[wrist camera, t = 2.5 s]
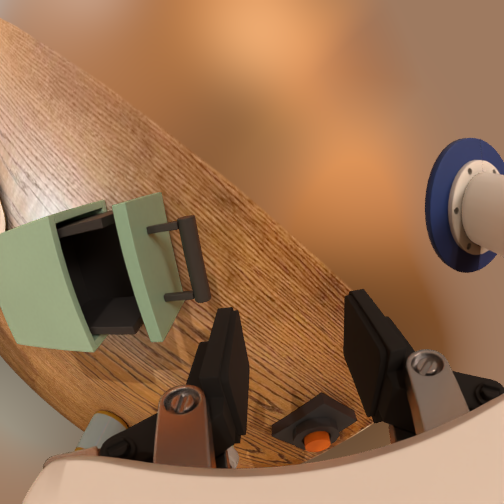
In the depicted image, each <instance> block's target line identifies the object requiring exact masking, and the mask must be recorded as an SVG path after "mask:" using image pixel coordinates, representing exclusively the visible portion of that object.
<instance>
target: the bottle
mask: <svg viewBox="0 0 504 504" xmlns="http://www.w3.org/2000/svg"><path fill="white" fill-rule="evenodd" d="M126 429H128V427H127V425H126V423H125V422H124V421H123V420H122V419H121V418H120V417H118V416H117V415H115V414H113V413H111V412H108V411H97V412H96V413H95V414H94V416H93V418H92V419H91V421H90V423H89V425H88V427H87V428H86V430H85V432H84V434H83V436H82V438H81V439H80V442H79V443H78V445H77V447H76V449H75V451H77V450H81V449H86V448H90V447H93V446H97V448H98V449H99V448H101V446H102V444H103V443H104V442H105V441H106V440H107V439H108V438H110V437H111V436H113V435H115V434H117V433H120V432H122V431H124V430H126Z"/></svg>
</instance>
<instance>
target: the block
mask: <svg viewBox="0 0 504 504" xmlns="http://www.w3.org/2000/svg"><path fill="white" fill-rule="evenodd" d="M356 421H357V419H356V416H355V413H354V410H352V409H350V408H348V407H346V406H345V405H343V404H341V403H339V402H337V401H336V400H334V399H332V398H330V397H329V396H327V395H325V394H323V393H322V392H321V393H320V394H319V395H317V396H316V397H314V398H313V399H312V400H310V401H309V402H307V403H306V404H304V405H303V406H301V407H300V408H298V409H297V410H295V411H294V412H292V413H291V414H289V415H288V416H286V417H284V418H283V419H281V420H280V421H278V422H276V423H275V424H273V425H272V436H273V437H275V438H278V439H280V440H282V441H285V442H287V443H290V444H292V445H295V446H296V447H298V448H301V449H303V450H306V449H305V444H304V437H305V436H306V435H308V434H310V433H313V432H317V431H326V432H328V434H329V438H330V443H331V444H332V443H334V442H335V441H336V440H337V438H338V437H339V432H340V431H342V430H343V429H345V428H347V427H348V426H350V425H351V424H353V423H354V422H356Z"/></svg>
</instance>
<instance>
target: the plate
mask: <svg viewBox="0 0 504 504" xmlns="http://www.w3.org/2000/svg"><path fill="white" fill-rule="evenodd" d="M3 232H6V216H5V212H4V209H3V205H2V202H1V199H0V234H1V233H3Z"/></svg>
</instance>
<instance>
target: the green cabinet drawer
mask: <svg viewBox="0 0 504 504" xmlns="http://www.w3.org/2000/svg"><path fill="white" fill-rule="evenodd" d="M112 209H113V210H112V211H108V212H104V213H100V214H96V215H92V216H88V217H84V218H80V219H77V220H73V221H70V222H66V223H64V224H61V225H58V226H56V229H57V233H58V237H59V241H60V245H61V249H62V252H63V256H64V260H65V263H66V266H67V270H68V273H69V276H70V279H71V282H72V285H73V288H74V291H75V294H76V297H77V299H78V302H79V305H80V307H81V310H82V313H83V315H84V318H85V320H86V322H87V325H88V327H89V330H90V332H91V334H136V333H137V331H138V330H139V328H140V327H141V326H142V324H143V323H144V324H145V327H146V330H147V333H148V335H149V338H150V341H151V342H163V341H164V339H165V337H166V335H167V334H168V332H169V330H170V328H171V326H172V324H173V322H174V320H175V318H176V316H177V314H178V312H179V311H180V309H181V307H182V305H183V303H184V301H185V300H191V299H194V298H195V301H196V302H198V303H203V302H207V301H209V300H210V299H211V293H210V289H209V284H208V279H207V275H206V270H205V265H204V260H203V256H202V251H201V246H200V241H199V235H198V230H197V225H196V220H195V216H194V215H190V216H184V217H181V218H178V219H177V221H173V222H168V223H167V219H166V214H165V209H164V204H163V198H162V193H161V192H159V193H154V194H150V195H146V196H143V197H139V198H136V199H132V200H129V201H125V202H122V203H119V204H115V205H113V206H112ZM177 229H179V231H180V236H181V241H182V246H183V250H184V255H185V260H186V264H187V268H188V273H189V277H190V281H191V285H192V290H193V291H183V290H182V286H181V282H180V278H179V273H178V269H177V265H176V261H175V257H174V252H173V248H172V243H171V238H170V234H169V231H171V230H177Z"/></svg>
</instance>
